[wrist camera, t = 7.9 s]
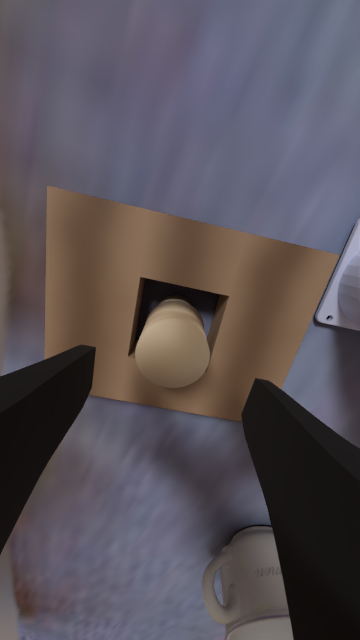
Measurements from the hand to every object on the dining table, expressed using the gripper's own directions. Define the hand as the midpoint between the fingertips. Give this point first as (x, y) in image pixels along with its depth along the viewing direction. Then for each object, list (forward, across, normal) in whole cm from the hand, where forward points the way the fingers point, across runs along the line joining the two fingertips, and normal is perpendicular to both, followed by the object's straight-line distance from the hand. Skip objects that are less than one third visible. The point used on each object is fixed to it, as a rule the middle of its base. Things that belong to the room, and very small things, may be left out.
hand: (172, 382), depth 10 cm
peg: (+9, 0, 0) cm, 9 cm away
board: (+9, 0, 0) cm, 9 cm away
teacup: (+10, -15, +27) cm, 32 cm away
